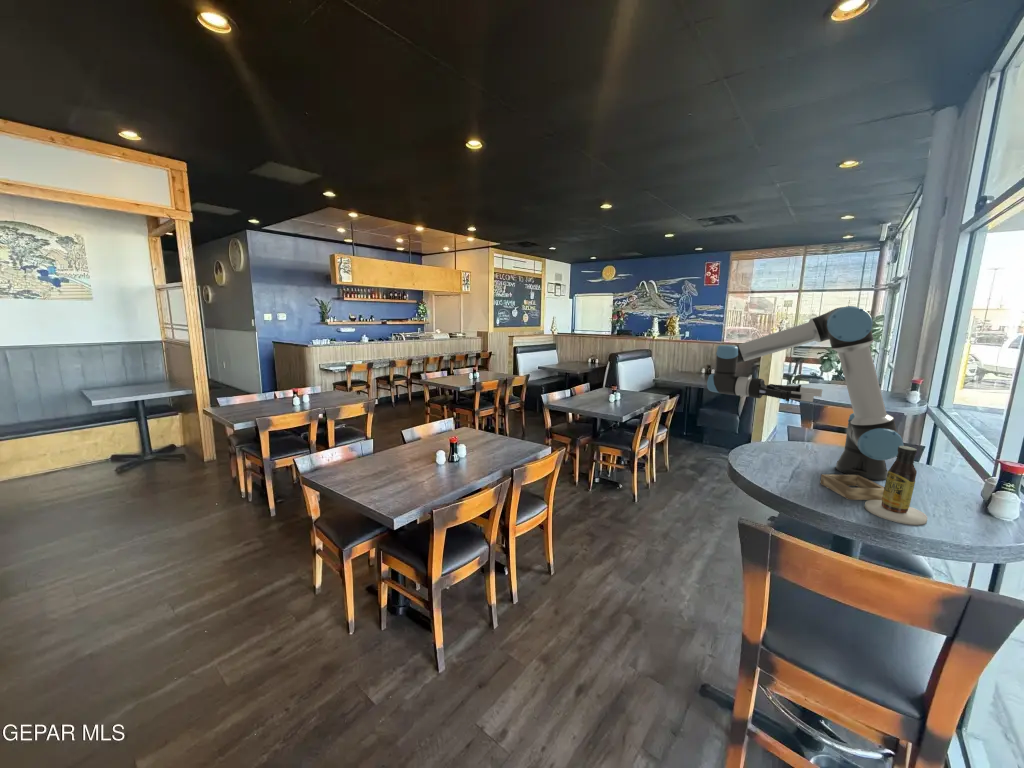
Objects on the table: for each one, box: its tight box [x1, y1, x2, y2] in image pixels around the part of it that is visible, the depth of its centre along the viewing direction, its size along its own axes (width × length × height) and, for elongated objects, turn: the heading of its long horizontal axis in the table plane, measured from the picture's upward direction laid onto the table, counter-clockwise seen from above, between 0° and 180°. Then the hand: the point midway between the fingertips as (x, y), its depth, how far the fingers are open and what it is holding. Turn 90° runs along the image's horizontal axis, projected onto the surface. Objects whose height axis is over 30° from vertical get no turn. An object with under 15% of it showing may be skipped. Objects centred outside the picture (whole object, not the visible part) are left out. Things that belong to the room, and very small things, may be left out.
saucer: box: [864, 500, 928, 526], centre depth 125 cm, size 14×14×1 cm
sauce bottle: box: [882, 445, 918, 513], centre depth 124 cm, size 6×6×20 cm
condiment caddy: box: [819, 473, 885, 501], centre depth 141 cm, size 13×13×4 cm
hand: (817, 395), depth 144 cm, fingers open, 13 cm apart
